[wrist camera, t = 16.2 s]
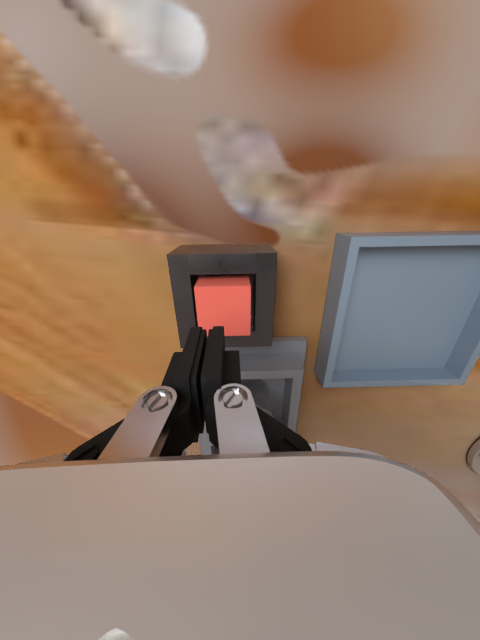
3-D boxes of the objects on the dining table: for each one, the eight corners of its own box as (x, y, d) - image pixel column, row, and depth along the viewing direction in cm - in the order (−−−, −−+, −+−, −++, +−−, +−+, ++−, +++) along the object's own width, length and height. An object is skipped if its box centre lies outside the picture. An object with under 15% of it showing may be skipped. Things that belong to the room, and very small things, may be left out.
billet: (268, 375, 26) (282, 436, 19) (266, 406, 29) (277, 472, 21) (226, 375, 26) (223, 437, 19) (226, 407, 28) (224, 473, 21)
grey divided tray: (304, 336, 25) (316, 357, 22) (287, 468, 36) (293, 496, 32) (188, 338, 25) (180, 360, 22) (205, 470, 36) (202, 499, 32)
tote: (504, 230, 21) (545, 233, 18) (441, 367, 28) (463, 384, 25) (336, 233, 21) (351, 236, 18) (314, 370, 28) (322, 387, 25)
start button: (248, 275, 19) (250, 286, 16) (248, 318, 20) (250, 335, 18) (199, 276, 19) (193, 287, 16) (203, 319, 20) (199, 336, 18)
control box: (268, 243, 21) (277, 252, 17) (265, 321, 24) (271, 346, 20) (181, 245, 21) (166, 254, 16) (190, 322, 24) (180, 348, 20)
